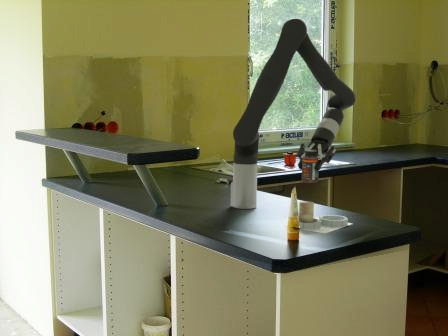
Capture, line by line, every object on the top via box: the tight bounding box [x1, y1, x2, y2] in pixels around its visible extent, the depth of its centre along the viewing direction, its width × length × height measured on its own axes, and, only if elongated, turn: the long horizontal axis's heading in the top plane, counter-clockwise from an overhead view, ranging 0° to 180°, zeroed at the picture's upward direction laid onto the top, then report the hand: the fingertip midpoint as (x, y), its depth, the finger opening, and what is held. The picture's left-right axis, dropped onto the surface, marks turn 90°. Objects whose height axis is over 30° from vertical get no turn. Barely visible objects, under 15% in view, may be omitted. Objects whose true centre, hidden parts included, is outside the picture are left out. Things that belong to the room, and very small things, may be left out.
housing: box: [285, 214, 354, 234], centre depth 221 cm, size 15×19×3 cm
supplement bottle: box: [301, 150, 320, 184], centre depth 233 cm, size 6×6×11 cm
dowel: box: [298, 200, 315, 223], centre depth 218 cm, size 5×5×8 cm
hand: (307, 169), depth 232 cm, fingers closed on supplement bottle, 6 cm apart
